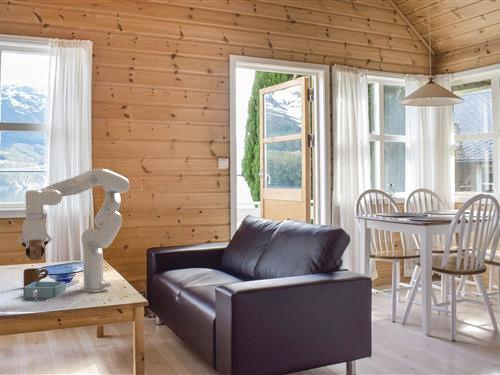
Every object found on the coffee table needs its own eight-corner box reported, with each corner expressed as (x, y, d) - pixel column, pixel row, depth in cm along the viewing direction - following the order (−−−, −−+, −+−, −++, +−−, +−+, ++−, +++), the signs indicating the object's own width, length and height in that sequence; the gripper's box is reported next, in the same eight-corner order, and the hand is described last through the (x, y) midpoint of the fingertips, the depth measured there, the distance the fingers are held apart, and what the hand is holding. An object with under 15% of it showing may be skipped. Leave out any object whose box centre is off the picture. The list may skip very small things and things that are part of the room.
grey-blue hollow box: (50, 299, 238) (50, 288, 238) (43, 303, 231) (43, 292, 231) (26, 299, 238) (26, 288, 238) (19, 303, 231) (19, 291, 231)
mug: (46, 284, 271) (46, 266, 270) (49, 287, 264) (49, 269, 264) (22, 287, 264) (22, 269, 264) (24, 289, 258) (24, 271, 257)
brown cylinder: (40, 257, 237) (40, 238, 237) (41, 259, 233) (41, 239, 233) (28, 258, 235) (28, 239, 235) (29, 260, 231) (29, 240, 230)
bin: (65, 292, 252) (65, 281, 252) (55, 299, 239) (55, 287, 239) (35, 292, 252) (35, 281, 252) (23, 298, 239) (23, 287, 239)
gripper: (53, 215, 241) (53, 253, 241) (13, 217, 232) (14, 256, 233) (55, 216, 234) (55, 255, 235) (15, 218, 226) (15, 258, 226)
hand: (35, 255), depth 234 cm, fingers closed on brown cylinder, 5 cm apart
